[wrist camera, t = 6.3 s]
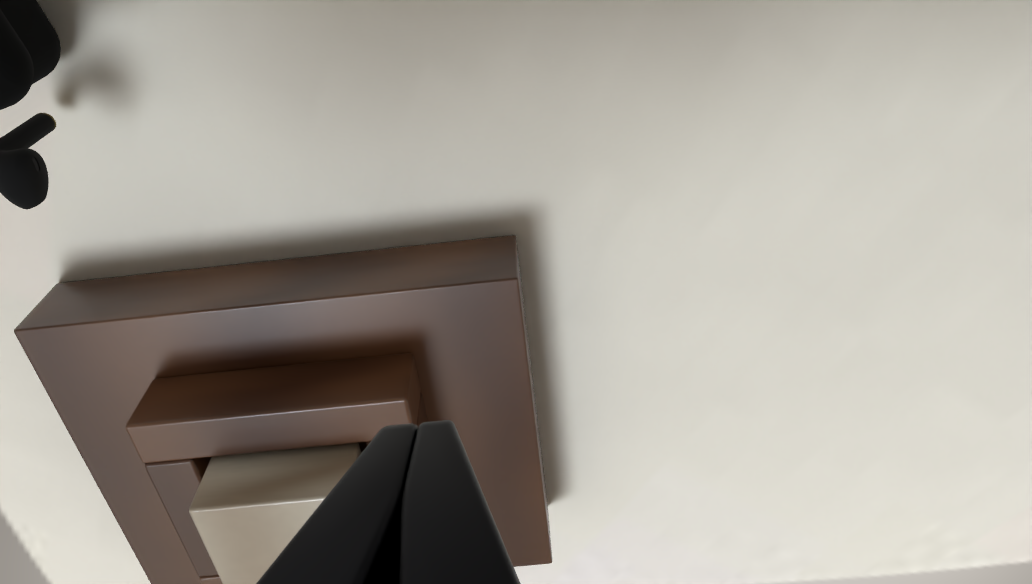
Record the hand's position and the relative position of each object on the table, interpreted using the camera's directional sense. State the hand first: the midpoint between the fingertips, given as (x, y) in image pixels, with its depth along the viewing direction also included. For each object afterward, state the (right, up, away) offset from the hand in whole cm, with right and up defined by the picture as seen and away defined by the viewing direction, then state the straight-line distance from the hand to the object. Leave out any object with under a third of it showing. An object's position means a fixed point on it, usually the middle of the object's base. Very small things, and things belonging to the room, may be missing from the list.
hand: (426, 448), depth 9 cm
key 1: (-4, -3, +10) cm, 12 cm away
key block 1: (-4, -1, +13) cm, 14 cm away
